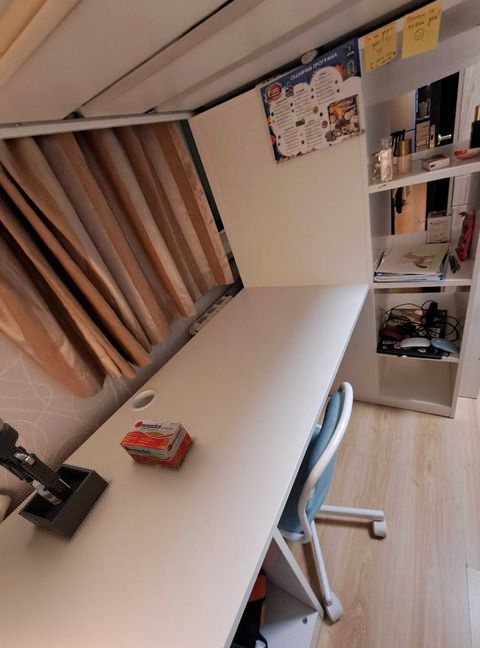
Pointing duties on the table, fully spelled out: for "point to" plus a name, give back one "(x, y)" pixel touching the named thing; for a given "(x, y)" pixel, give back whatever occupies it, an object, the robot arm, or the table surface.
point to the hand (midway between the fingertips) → (61, 494)
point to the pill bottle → (46, 494)
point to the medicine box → (157, 442)
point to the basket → (74, 509)
